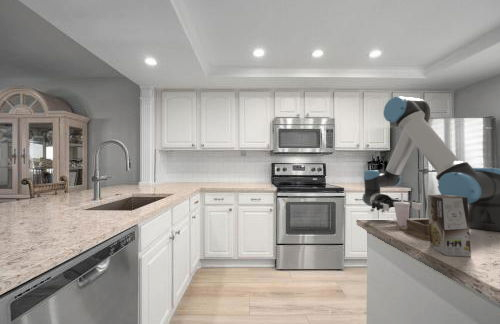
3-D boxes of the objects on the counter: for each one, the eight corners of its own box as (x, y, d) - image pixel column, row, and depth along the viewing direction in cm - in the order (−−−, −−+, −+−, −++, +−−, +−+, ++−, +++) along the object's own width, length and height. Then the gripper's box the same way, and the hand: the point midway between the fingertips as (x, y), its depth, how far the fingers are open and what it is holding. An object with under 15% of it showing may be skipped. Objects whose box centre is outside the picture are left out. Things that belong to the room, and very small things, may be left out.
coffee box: (472, 257, 69) (468, 197, 69) (445, 256, 70) (442, 197, 70) (452, 246, 78) (449, 194, 78) (429, 246, 79) (426, 194, 79)
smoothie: (397, 227, 105) (396, 193, 105) (391, 223, 111) (390, 191, 112) (414, 227, 104) (412, 193, 104) (407, 224, 110) (405, 191, 111)
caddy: (436, 228, 100) (435, 217, 100) (468, 239, 84) (468, 226, 84) (399, 229, 101) (399, 218, 101) (425, 240, 85) (424, 227, 85)
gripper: (407, 208, 126) (436, 216, 104) (356, 209, 127) (374, 217, 106) (406, 193, 126) (435, 197, 105) (355, 194, 127) (373, 199, 106)
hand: (404, 207), depth 105 cm, fingers open, 13 cm apart
